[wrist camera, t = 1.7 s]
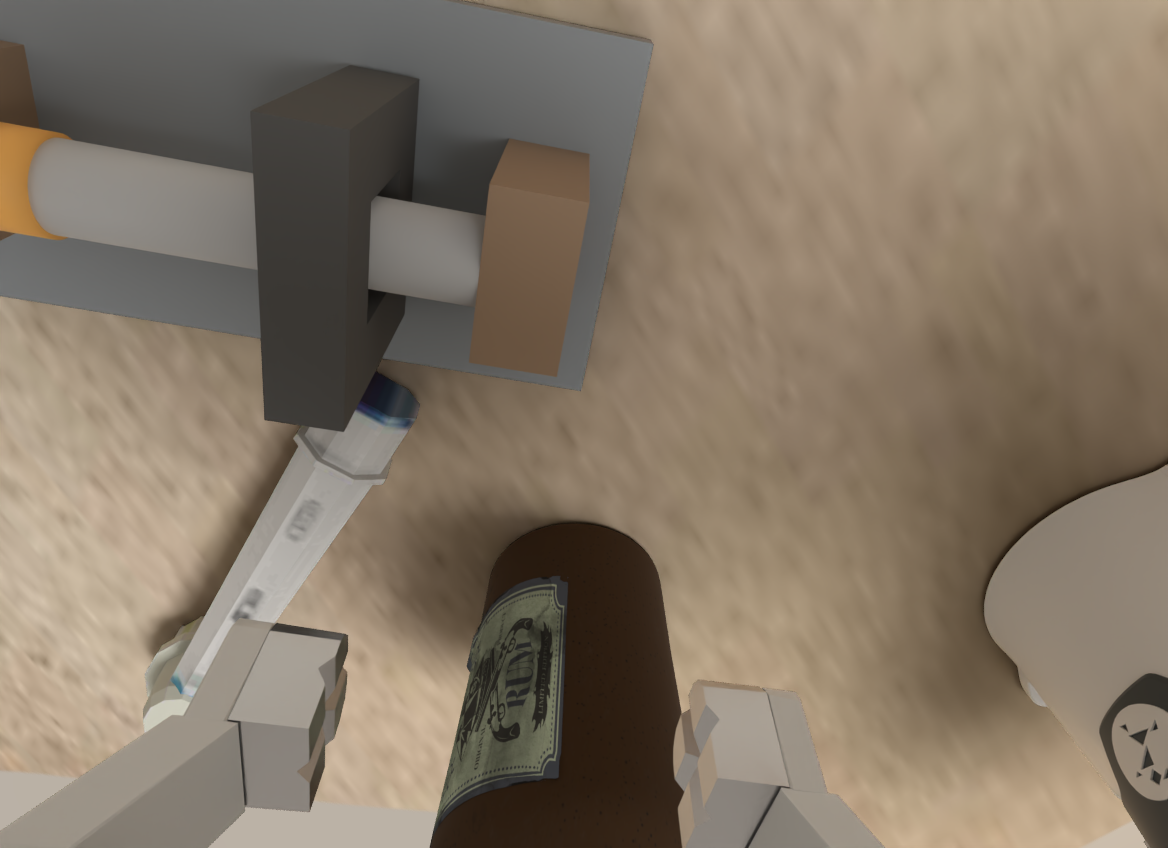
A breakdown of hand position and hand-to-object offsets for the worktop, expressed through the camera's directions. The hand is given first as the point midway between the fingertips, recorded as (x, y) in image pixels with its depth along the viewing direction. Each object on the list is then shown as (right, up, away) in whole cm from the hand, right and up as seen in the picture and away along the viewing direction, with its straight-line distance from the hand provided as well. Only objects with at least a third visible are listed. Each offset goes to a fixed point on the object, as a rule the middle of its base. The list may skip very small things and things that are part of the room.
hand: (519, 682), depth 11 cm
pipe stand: (-11, +14, +19) cm, 26 cm away
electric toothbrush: (-15, -2, +29) cm, 33 cm away
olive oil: (0, -5, +31) cm, 31 cm away
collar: (-7, +12, +17) cm, 22 cm away
